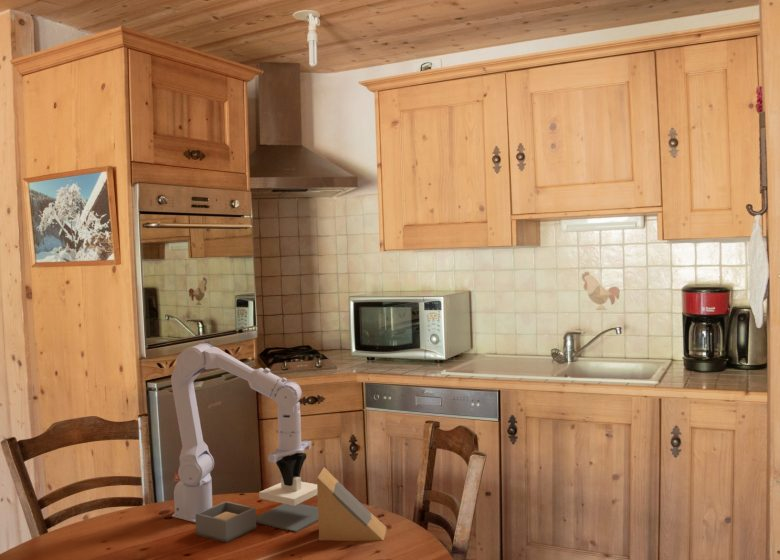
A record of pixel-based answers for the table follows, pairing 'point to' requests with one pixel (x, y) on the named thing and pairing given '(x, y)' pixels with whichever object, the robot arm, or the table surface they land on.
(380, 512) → the table surface
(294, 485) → the lid
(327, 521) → the sandwich container
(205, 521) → the storage box
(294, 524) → the mat
